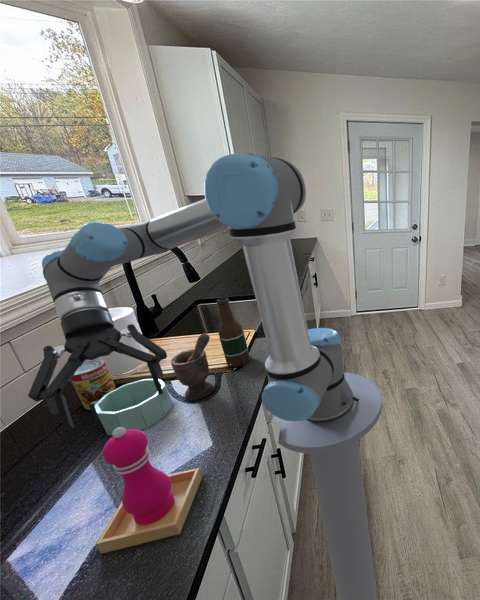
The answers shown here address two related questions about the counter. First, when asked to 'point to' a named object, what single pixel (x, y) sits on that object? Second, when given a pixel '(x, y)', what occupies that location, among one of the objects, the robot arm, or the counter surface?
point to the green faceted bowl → (119, 404)
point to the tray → (129, 533)
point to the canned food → (92, 381)
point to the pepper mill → (138, 476)
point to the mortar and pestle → (193, 369)
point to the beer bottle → (232, 336)
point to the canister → (116, 360)
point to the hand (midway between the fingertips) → (118, 409)
